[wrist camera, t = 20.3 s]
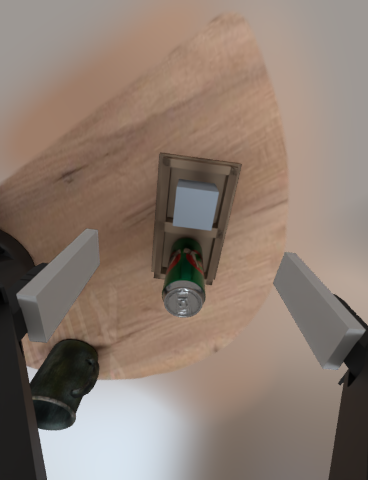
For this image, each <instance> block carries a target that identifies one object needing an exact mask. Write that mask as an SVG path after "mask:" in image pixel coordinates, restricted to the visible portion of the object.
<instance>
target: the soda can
mask: <svg viewBox="0 0 368 480" xmlns="http://www.w3.org/2000/svg"><path fill="white" fill-rule="evenodd" d="M162 299H163V302H164V305H165V308H166V309H167V311H168V312H169V313H171V314H172V315H174V316H177V317H191V316H194V315H196V314H197V313H198V312H199V311H200V310H201V308H202V305H203V304H204V302H205V281H204V266H203V251H202V247H201V246H200V244H199V243H198V242H197V241H195V240H193V239H190V238H183V239H180V240H178V241H176V242H175V243H174V244H173V245H172V247H171V251H170V256H169V261H168V266H167V271H166V276H165V281H164V286H163V291H162Z"/></svg>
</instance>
